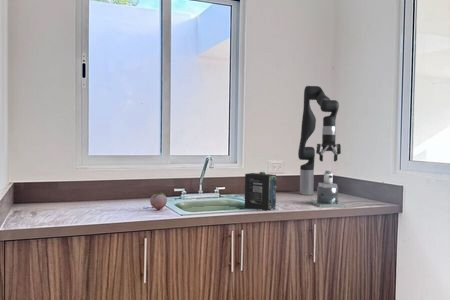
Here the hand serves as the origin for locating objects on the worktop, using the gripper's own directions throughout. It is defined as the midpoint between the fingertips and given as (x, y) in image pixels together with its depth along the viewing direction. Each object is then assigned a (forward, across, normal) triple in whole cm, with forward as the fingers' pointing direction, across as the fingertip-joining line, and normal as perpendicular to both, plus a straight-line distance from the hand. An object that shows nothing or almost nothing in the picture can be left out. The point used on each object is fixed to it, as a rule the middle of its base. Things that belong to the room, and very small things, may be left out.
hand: (328, 161), depth 225 cm
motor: (+26, 0, 0) cm, 26 cm away
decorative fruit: (+26, +99, +10) cm, 103 cm away
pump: (+15, 0, 0) cm, 15 cm away
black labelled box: (+26, +43, +8) cm, 51 cm away
